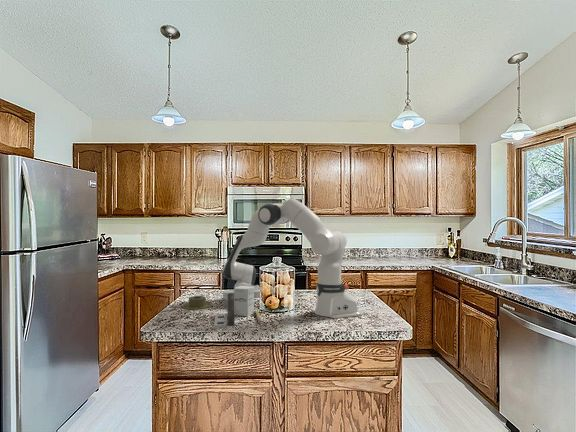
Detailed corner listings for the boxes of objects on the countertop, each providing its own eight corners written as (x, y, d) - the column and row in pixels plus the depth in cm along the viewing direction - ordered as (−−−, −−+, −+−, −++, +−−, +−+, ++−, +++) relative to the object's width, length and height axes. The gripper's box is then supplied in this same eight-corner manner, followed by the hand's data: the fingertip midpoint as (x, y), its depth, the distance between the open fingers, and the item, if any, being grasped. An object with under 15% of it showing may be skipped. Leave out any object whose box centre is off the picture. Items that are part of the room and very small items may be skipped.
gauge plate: (226, 316, 163) (226, 314, 163) (226, 327, 147) (226, 324, 147) (215, 317, 162) (215, 314, 162) (213, 328, 146) (213, 325, 146)
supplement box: (233, 315, 165) (233, 288, 165) (240, 311, 172) (240, 285, 172) (247, 316, 163) (247, 289, 163) (254, 312, 170) (254, 286, 170)
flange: (181, 295, 187) (183, 302, 173) (210, 293, 192) (214, 299, 178) (181, 304, 187) (183, 311, 173) (210, 302, 192) (214, 309, 178)
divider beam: (257, 311, 173) (257, 284, 173) (261, 324, 152) (261, 293, 152) (227, 312, 170) (227, 285, 170) (227, 325, 149) (227, 294, 149)
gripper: (222, 286, 188) (222, 291, 174) (261, 285, 191) (263, 290, 177) (222, 298, 188) (222, 304, 174) (261, 296, 191) (264, 302, 177)
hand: (243, 297), depth 176 cm, fingers closed
